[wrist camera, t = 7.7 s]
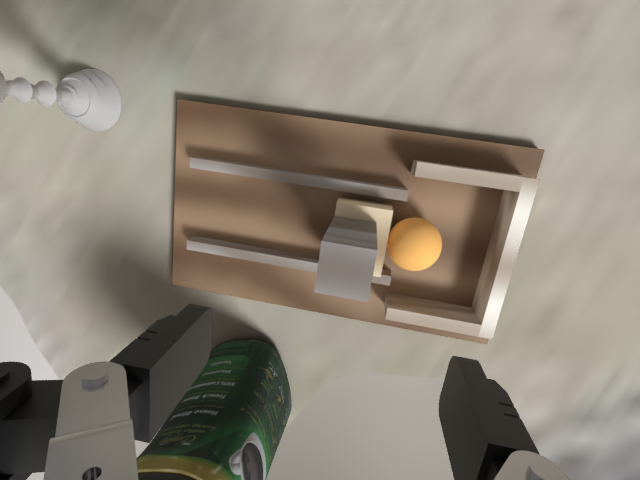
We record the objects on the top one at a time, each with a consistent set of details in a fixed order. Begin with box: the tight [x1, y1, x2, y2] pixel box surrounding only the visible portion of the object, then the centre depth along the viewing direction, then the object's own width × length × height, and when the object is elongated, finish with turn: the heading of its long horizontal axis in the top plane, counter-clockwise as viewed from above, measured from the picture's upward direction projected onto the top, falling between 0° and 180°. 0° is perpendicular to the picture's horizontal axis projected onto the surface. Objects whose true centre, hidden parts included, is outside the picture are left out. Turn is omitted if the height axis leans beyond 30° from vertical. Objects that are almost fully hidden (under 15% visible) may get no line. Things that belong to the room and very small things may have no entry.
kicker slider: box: [314, 196, 393, 302], centre depth 25 cm, size 5×4×10 cm
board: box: [172, 99, 544, 344], centre depth 29 cm, size 16×28×4 cm, turn 82°
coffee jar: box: [136, 339, 292, 480], centre depth 27 cm, size 10×8×19 cm
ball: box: [387, 217, 442, 271], centre depth 28 cm, size 4×4×4 cm
